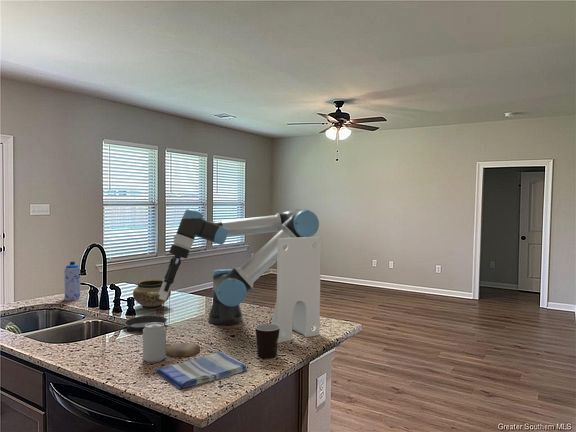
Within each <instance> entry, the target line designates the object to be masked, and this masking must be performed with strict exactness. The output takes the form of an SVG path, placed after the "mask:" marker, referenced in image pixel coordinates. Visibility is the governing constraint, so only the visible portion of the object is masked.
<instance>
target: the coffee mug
mask: <svg viewBox="0 0 576 432" xmlns="http://www.w3.org/2000/svg"><path fill="white" fill-rule="evenodd" d="M254 327H255V328H254V329H255V337H256V348H257V357H258V358H261V359H264V360H265V359H266V360H271V359H274V358H276V357H277V355H278V354H277V353H278V346H279V345H278V344H279V343H278V338H279V330H280V326H278V325H275V324H271V323H260V324H258V325H255V326H254Z"/></svg>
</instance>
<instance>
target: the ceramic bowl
mask: <svg viewBox="0 0 576 432" xmlns="http://www.w3.org/2000/svg"><path fill="white" fill-rule="evenodd" d="M163 281H164V279H146V280H141V281H138V282H137V286H136V287H135V288H134V290H133V291H132V296H133V299H134V301H135V302H136V303H138V304H139V305H141V306H142V309H143V310H148V311H152V310H154V311H155V310H159V309H161V308H162V307H163V304H165V303H166V302H167V301H168V300H169V298H170V297H171V293H172V291H171V289H170V291H169V294H168V296H167V299H166V301H165V300H162V299H159V297H160V295H159V291H160V288H161V286H162V283H163Z"/></svg>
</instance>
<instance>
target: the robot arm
mask: <svg viewBox="0 0 576 432" xmlns="http://www.w3.org/2000/svg"><path fill="white" fill-rule="evenodd" d="M319 227H320V220H319V218H318V216H317V214H316V213H315V212H313V211H312V210H309V209H305V208H304V209H301V208H297V209H291V210H288V211H283V212H277V213H276V214H274V215H273V214H272V215H265V216H256V217H245V218H238V219H237V218H235V219H227V220H226V219H225V220H216V221H208V220H206V219H204V214H203V213H202V212H199V211H197V210H194V209H191V208H186V210H185V211H184V212H183V215H182V218H181V220H180V222H179V225H178V228H177V231H176V234H175V235H173V238H174V239H173V241H172V243H173V244H172V245H171V246H170V249H169V251H168V253H169V254H171V255H173V256H172V258H170V261H169V264H168V269H167V270H166V273H165V275H164V278H163V280H164V281H163V283H162V286H161V288H160V291H159V295H160V297H159V299H162V300H165V301H166V299H167V296H168V294H169V291H170V290H171V288H172V285H173V284H174V282H175V277H176V276H177V275H176V274H177V271H178V270H179V267H180V266H181V264H182V259H181V258H183V259H187V258H188V256H189V254H190V249H192V246H193V244H194V241H195V237H198V238H201V239H203V240H205V241H208V242H211V243H214V244H217V245H224V243H225V242H226V240H227V238H230V237H238V236H248V235H250V236H251V235H258V234H266V233H276V234H275V235H274V236H273V237H272V238H271V239H269V241H267V242H266V243H265V244H264V245H262V247H261V248H259V249H258V250H257V251H256V252H255V253H254V254H253V255H252V256H251V257H249V259H247V260H246V261H245V263H244V262H243V264H242V265H241V266H240V267H233V269H232V268H231V269H230V268H228V269H226V268H225V269H224V268H222V269H214V270H213V272H212V304H211V307H210V311H209V313H208V322H209V323H210V324H214V325H222V326H223V325H234V324H238V323H240V322H242V321H243V312H242V308H241V307H240V305H241V304H242V303H243V302H244V301H245V299H246V296H247V294H248V293H249V292H250V291H252V289H254V282H256V281H257V280H258V279H259V278H260V277H261V276H262V275H263V274H264V273H266V272H267V270H269V269H270V268H271V267H272V266H273V265H274V264H275V263H276V262H277V245H278V238H297V237H314V235H316V234H317V232H318V231H319ZM286 248H287V244H284V245H283V250H286ZM166 302H167V301H166Z"/></svg>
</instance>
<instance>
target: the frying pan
mask: <svg viewBox="0 0 576 432" xmlns="http://www.w3.org/2000/svg"><path fill="white" fill-rule="evenodd" d="M167 321H168V318H166V317H165V316H160V315H141V316H132V317H131V318H128V319H125V321H124V322H123V324H124V326H125V327H126V328H127V329H128V330H129V331H131V332H136V333H139V332H140V333H143V329H144V328H145V325H146V324H148V323H152V322H161V323H163V324H164V325H166V323H167Z"/></svg>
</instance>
